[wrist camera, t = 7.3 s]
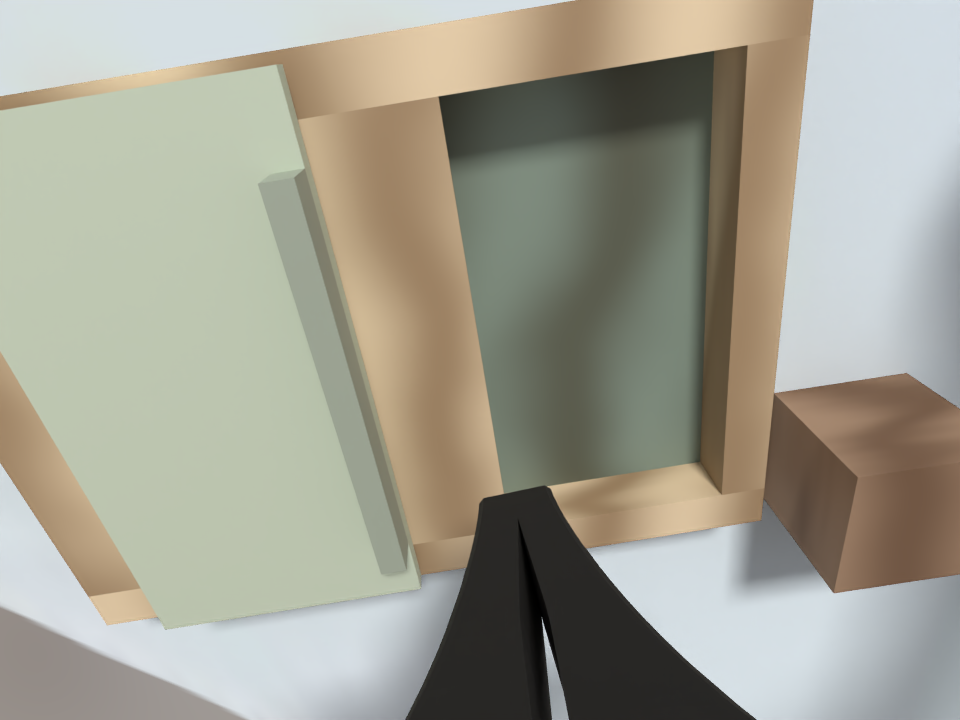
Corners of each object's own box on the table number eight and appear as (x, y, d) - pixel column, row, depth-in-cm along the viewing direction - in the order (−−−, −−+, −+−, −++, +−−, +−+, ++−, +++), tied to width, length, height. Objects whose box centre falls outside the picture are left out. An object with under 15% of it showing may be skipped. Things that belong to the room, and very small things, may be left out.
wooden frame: (761, -26, 16) (817, -41, 13) (729, 475, 24) (761, 520, 21) (-123, 121, 16) (-217, 132, 14) (139, 569, 24) (107, 625, 21)
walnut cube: (905, 372, 22) (1024, 452, 18) (880, 476, 24) (980, 571, 20) (773, 392, 22) (857, 477, 18) (761, 495, 24) (833, 593, 20)
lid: (282, 63, 13) (261, 65, 12) (421, 575, 21) (419, 618, 19) (-107, 129, 13) (-181, 138, 12) (172, 615, 21) (150, 661, 19)
